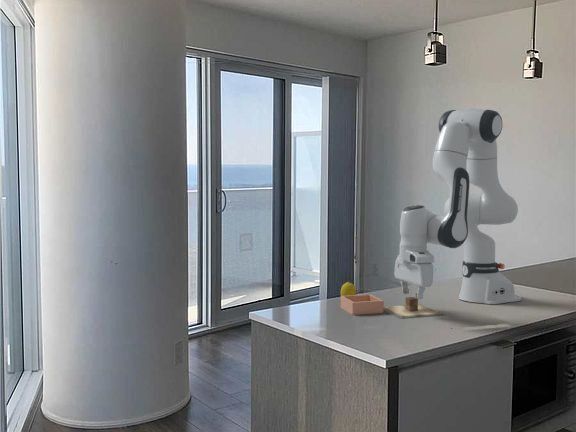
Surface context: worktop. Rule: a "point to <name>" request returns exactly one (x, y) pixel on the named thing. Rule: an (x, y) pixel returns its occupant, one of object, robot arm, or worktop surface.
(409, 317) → the mat
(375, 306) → the salmon open box
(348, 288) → the lemon
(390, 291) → the worktop surface
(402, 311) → the lid
